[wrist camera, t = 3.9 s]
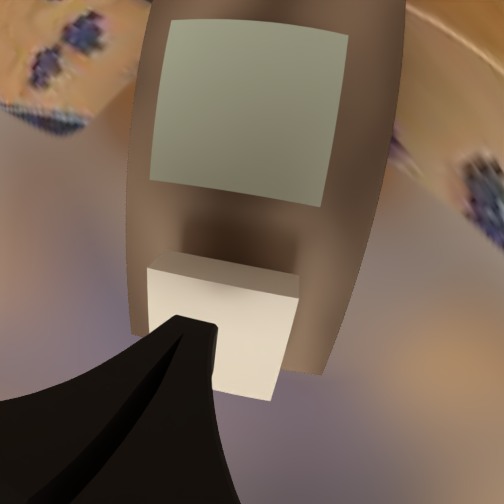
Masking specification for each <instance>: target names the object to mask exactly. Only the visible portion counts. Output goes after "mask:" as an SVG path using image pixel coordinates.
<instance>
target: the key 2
mask: <svg viewBox="0 0 504 504" xmlns="http://www.w3.org/2000/svg"><path fill="white" fill-rule="evenodd" d="M147 292H148V318H149V333H150V332H152V331H153V330H154V329H156V328H157V327H159V326H160V325H161V324H163V323H164V322H165V321H167V320H168V319H170V318H171V317H172V316H174V315H180V316H184V317H189V318H193V319H197V320H201V321H205V322H210V323H214V324H216V325H217V327H218V336H217V344H216V353H215V362H214V371H213V375H212V389H213V390H217V391H222V392H226V393H231V394H235V395H241V396H246V397H250V398H256V399H261V400H267V401H270V400H271V397H272V394H273V391H274V387H275V384H276V380H277V377H278V373H279V370H280V367H281V363H282V360H283V356H284V353H285V349H286V346H287V342H288V339H289V335H290V331H291V327H292V324H293V320H294V316H295V312H296V309H297V305H298V301H299V275H296V274H290V273H285V272H279V271H274V270H269V269H263V268H258V267H253V266H248V265H242V264H237V263H232V262H227V261H222V260H217V259H211V258H206V257H201V256H196V255H191V254H186V253H181V252H176V251H171V250H165V251H164V252H163V253H162V254H161V255H160V256H159V257H158V258H157V259H156V260H155V261H154V262H153V263H151V264H150V265H149V266H148V267H147Z"/></svg>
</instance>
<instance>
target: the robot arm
mask: <svg viewBox="0 0 504 504" xmlns="http://www.w3.org/2000/svg"><path fill="white" fill-rule="evenodd" d="M217 336H218V327H217V325H216V324H214V323H210V322H205V321H201V320H197V319H193V318H189V317H184V316H180V315H174V316H172V317H171V318H170V319H168V320H167V321H165V322H164V323H163V324H161V325H160V326H159V327H157V328H156V329H154V330H153V331H152V332H150V333H149V334H148V335H146V336H145V337H143V338H142V339H140V340H139V341H138V342H136V343H135V344H133V345H132V346H130V347H129V348H127V349H126V350H124V351H122V352H121V353H119V354H118V355H116V356H114V357H113V358H111V359H109V360H107V361H106V362H104V363H102V364H101V365H99V366H97V367H95V368H93V369H91V370H90V371H88V372H86V373H84V374H82V375H79V376H77V377H75V378H73V379H71V380H69V381H66V382H64V383H61V384H58V385H55V386H53V387H50V388H47V389H44V390H42V391H39V392H36V393H32V394H29V395H25V396H21V397H18V398H13V399H9V400H4V401H0V504H241V503H240V500H239V498H238V495H237V493H236V490H235V488H234V485H233V482H232V479H231V475H230V472H229V469H228V466H227V463H226V459H225V456H224V452H223V448H222V444H221V440H220V436H219V431H218V426H217V421H216V415H215V408H214V400H213V390H212V375H213V371H214V362H215V353H216V344H217Z"/></svg>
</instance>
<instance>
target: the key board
mask: <svg viewBox="0 0 504 504" xmlns="http://www.w3.org/2000/svg"><path fill="white" fill-rule="evenodd" d="M405 5H406V0H153V2H152V6H151V10H150V14H149V18H148V22H147V27H146V31H145V36H144V41H143V46H142V51H141V57H140V62H139V68H138V74H137V81H136V87H135V94H134V102H133V110H132V119H131V128H130V140H129V153H128V168H127V188H126V264H127V285H128V300H129V313H130V324H131V333H132V334H134V335H137V336H140V337H145V336H146V335H148V334H149V318H148V292H147V267H148V266H149V265H150V264H151V263H153V262H154V261H155V260H156V259H157V258H158V257H159V256H160V255H161V254H162V253H163V252H164V251H165V250H171V251H176V252H181V253H186V254H191V255H196V256H201V257H206V258H211V259H217V260H222V261H227V262H232V263H237V264H242V265H248V266H253V267H258V268H263V269H269V270H274V271H279V272H285V273H290V274H296V275H299V301H298V305H297V309H296V312H295V316H294V320H293V324H292V327H291V331H290V335H289V339H288V342H287V346H286V349H285V353H284V356H283V360H282V363H281V367H280V369H282V370H289V371H295V372H302V373H308V374H316V375H322V373H323V371H324V368H325V366H326V363H327V360H328V358H329V356H330V353H331V350H332V348H333V345H334V343H335V340H336V337H337V335H338V332H339V329H340V327H341V324H342V321H343V318H344V315H345V312H346V310H347V307H348V303H349V301H350V298H351V294H352V292H353V288H354V285H355V282H356V279H357V276H358V273H359V269H360V266H361V263H362V259H363V256H364V253H365V249H366V246H367V242H368V238H369V235H370V231H371V227H372V224H373V220H374V216H375V212H376V207H377V204H378V200H379V195H380V191H381V187H382V182H383V178H384V172H385V168H386V163H387V158H388V153H389V148H390V143H391V137H392V132H393V126H394V119H395V113H396V106H397V99H398V92H399V84H400V76H401V66H402V56H403V44H404V29H405ZM188 19H231V20H250V21H263V22H273V23H282V24H290V25H297V26H303V27H309V28H315V29H321V30H326V31H331V32H336V33H340V34H344V35H349V36H348V44H347V52H346V60H345V68H344V75H343V82H342V89H341V95H340V102H339V108H338V115H337V121H336V127H335V132H334V138H333V144H332V150H331V155H330V160H329V166H328V171H327V176H326V181H325V186H324V191H323V196H322V201H321V206H320V207H316V206H311V205H306V204H301V203H295V202H290V201H285V200H279V199H274V198H268V197H262V196H256V195H251V194H245V193H238V192H232V191H226V190H220V189H213V188H206V187H199V186H192V185H185V184H178V183H170V182H163V181H155V180H150V166H151V153H152V142H153V132H154V123H155V115H156V107H157V99H158V92H159V85H160V79H161V73H162V66H163V61H164V55H165V50H166V44H167V39H168V34H169V29H170V25H171V20H188Z"/></svg>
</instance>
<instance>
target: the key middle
mask: <svg viewBox="0 0 504 504" xmlns="http://www.w3.org/2000/svg"><path fill="white" fill-rule="evenodd" d="M348 36H349V35H344V34H340V33H336V32H331V31H326V30H321V29H315V28H309V27H303V26H297V25H290V24H282V23H273V22H263V21H250V20H231V19H188V20H171V25H170V29H169V34H168V39H167V44H166V50H165V55H164V61H163V66H162V73H161V79H160V85H159V92H158V99H157V107H156V115H155V123H154V132H153V142H152V153H151V166H150V180H155V181H163V182H170V183H178V184H185V185H192V186H199V187H206V188H213V189H220V190H226V191H232V192H238V193H245V194H251V195H256V196H262V197H268V198H274V199H279V200H285V201H290V202H295V203H301V204H306V205H311V206H316V207H320V206H321V201H322V196H323V191H324V186H325V181H326V176H327V171H328V166H329V160H330V155H331V150H332V144H333V138H334V132H335V127H336V121H337V115H338V108H339V102H340V95H341V89H342V82H343V75H344V68H345V60H346V52H347V44H348Z"/></svg>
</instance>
